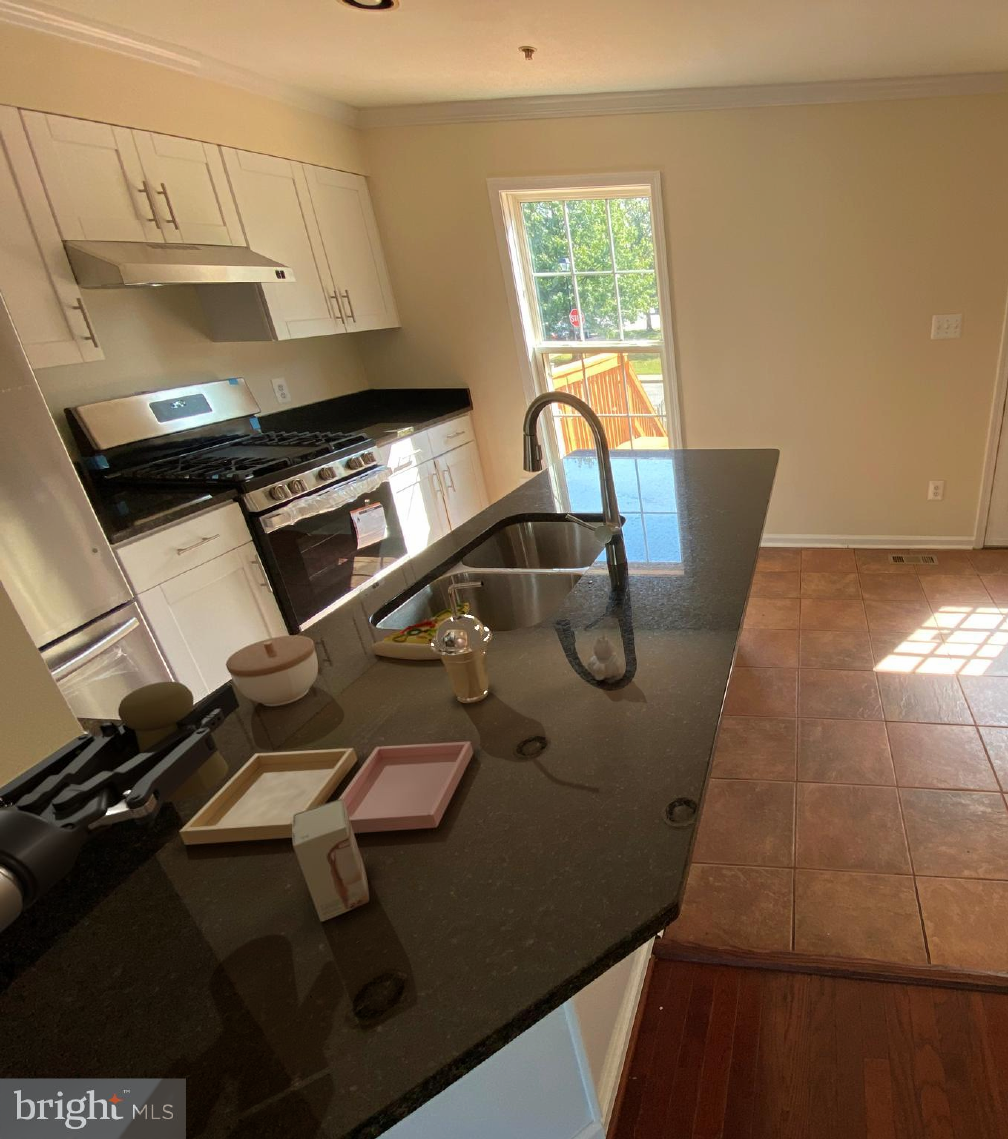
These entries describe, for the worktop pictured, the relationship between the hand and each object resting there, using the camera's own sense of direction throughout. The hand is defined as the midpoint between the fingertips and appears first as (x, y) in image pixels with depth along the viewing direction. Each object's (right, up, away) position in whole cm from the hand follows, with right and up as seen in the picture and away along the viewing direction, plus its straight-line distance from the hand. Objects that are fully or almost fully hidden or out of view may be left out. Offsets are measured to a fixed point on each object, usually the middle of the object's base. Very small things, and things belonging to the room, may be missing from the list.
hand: (207, 697), depth 65 cm
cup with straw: (+14, -6, +31) cm, 35 cm away
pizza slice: (-1, +2, +50) cm, 50 cm away
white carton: (+16, -20, -2) cm, 26 cm away
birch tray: (-1, -15, +11) cm, 18 cm away
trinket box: (-16, -6, +31) cm, 35 cm away
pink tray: (+14, -14, +12) cm, 24 cm away
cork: (0, -8, -2) cm, 9 cm away
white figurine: (+33, -4, +36) cm, 50 cm away
